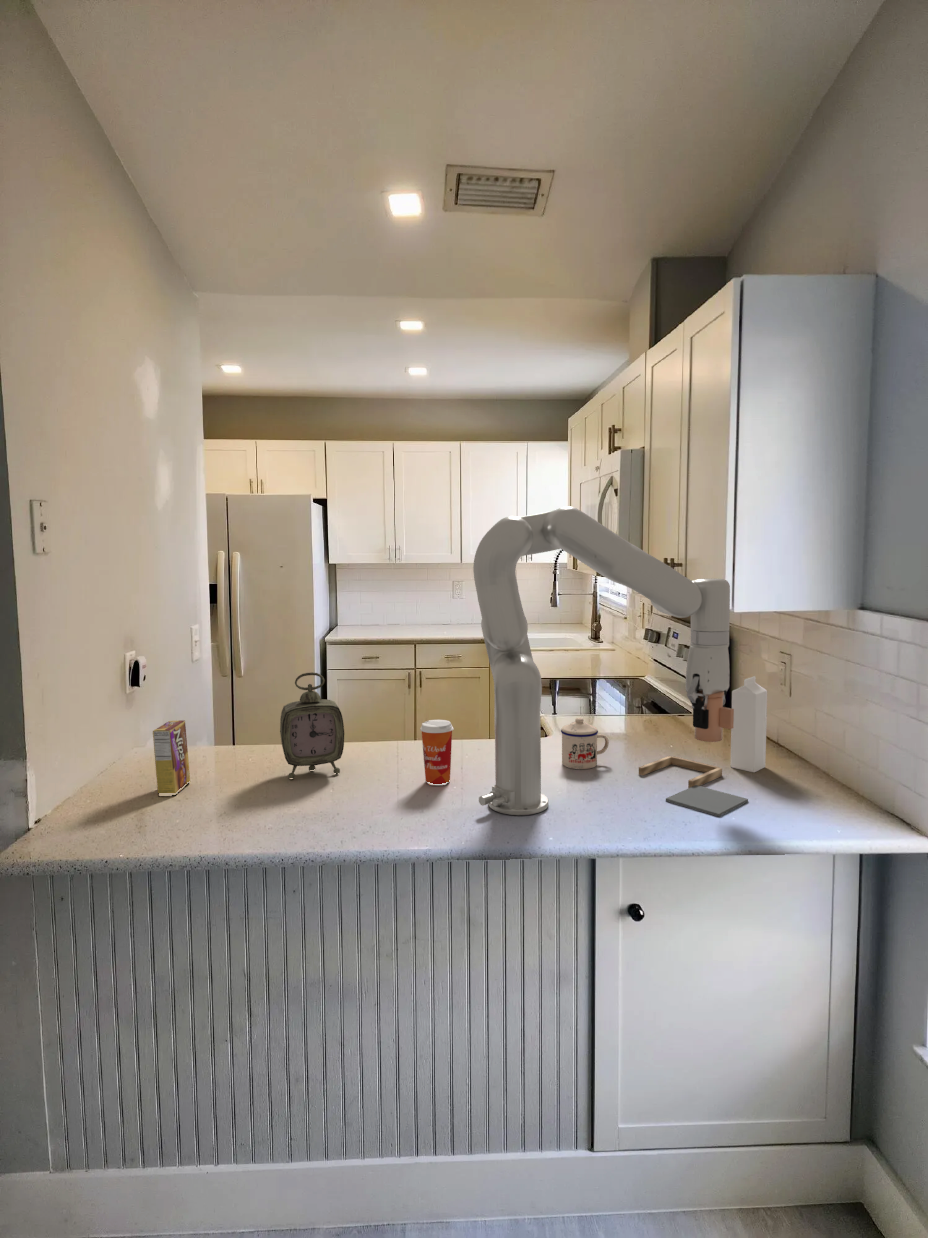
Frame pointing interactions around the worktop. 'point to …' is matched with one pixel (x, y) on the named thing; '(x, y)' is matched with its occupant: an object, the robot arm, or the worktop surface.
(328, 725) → the tabletop clock
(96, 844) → the worktop surface
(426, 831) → the worktop surface
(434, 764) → the paper cup
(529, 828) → the worktop surface
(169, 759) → the candy box
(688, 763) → the bent wooden rod
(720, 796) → the mat
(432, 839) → the worktop surface
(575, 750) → the teacup with lid
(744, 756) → the milk
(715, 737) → the jug
